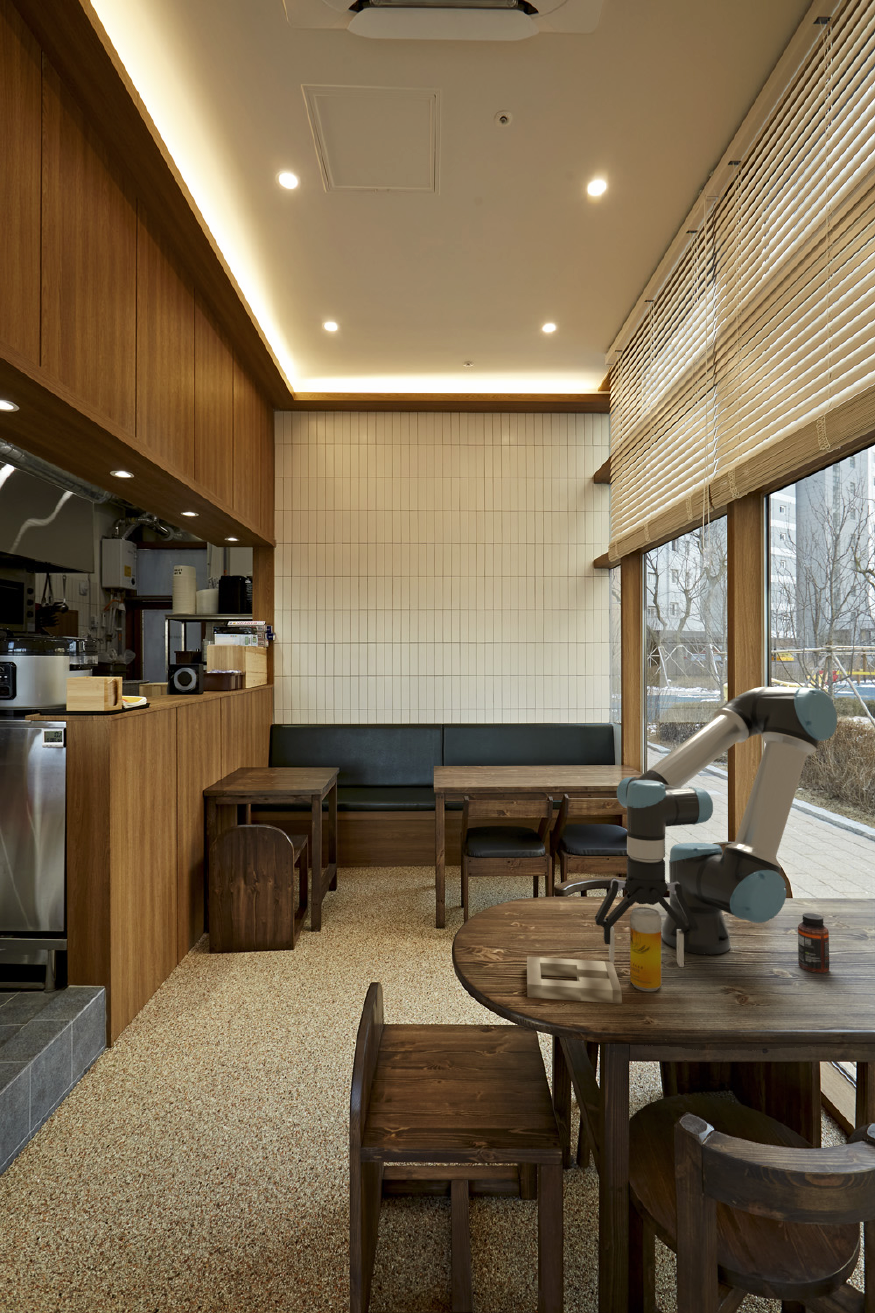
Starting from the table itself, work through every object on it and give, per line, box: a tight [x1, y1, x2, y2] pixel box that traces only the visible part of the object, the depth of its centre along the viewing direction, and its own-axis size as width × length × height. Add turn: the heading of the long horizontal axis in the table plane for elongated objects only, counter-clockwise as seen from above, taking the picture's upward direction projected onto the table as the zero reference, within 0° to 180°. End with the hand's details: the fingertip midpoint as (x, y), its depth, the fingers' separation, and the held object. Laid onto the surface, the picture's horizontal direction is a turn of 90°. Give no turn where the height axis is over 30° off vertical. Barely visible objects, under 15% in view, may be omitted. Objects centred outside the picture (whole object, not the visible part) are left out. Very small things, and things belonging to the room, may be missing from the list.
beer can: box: [629, 906, 662, 992], centre depth 136 cm, size 6×6×15 cm
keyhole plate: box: [526, 956, 623, 1005], centre depth 136 cm, size 18×13×2 cm
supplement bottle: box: [797, 912, 830, 974], centre depth 145 cm, size 6×6×11 cm
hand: (645, 962), depth 136 cm, fingers open, 13 cm apart
